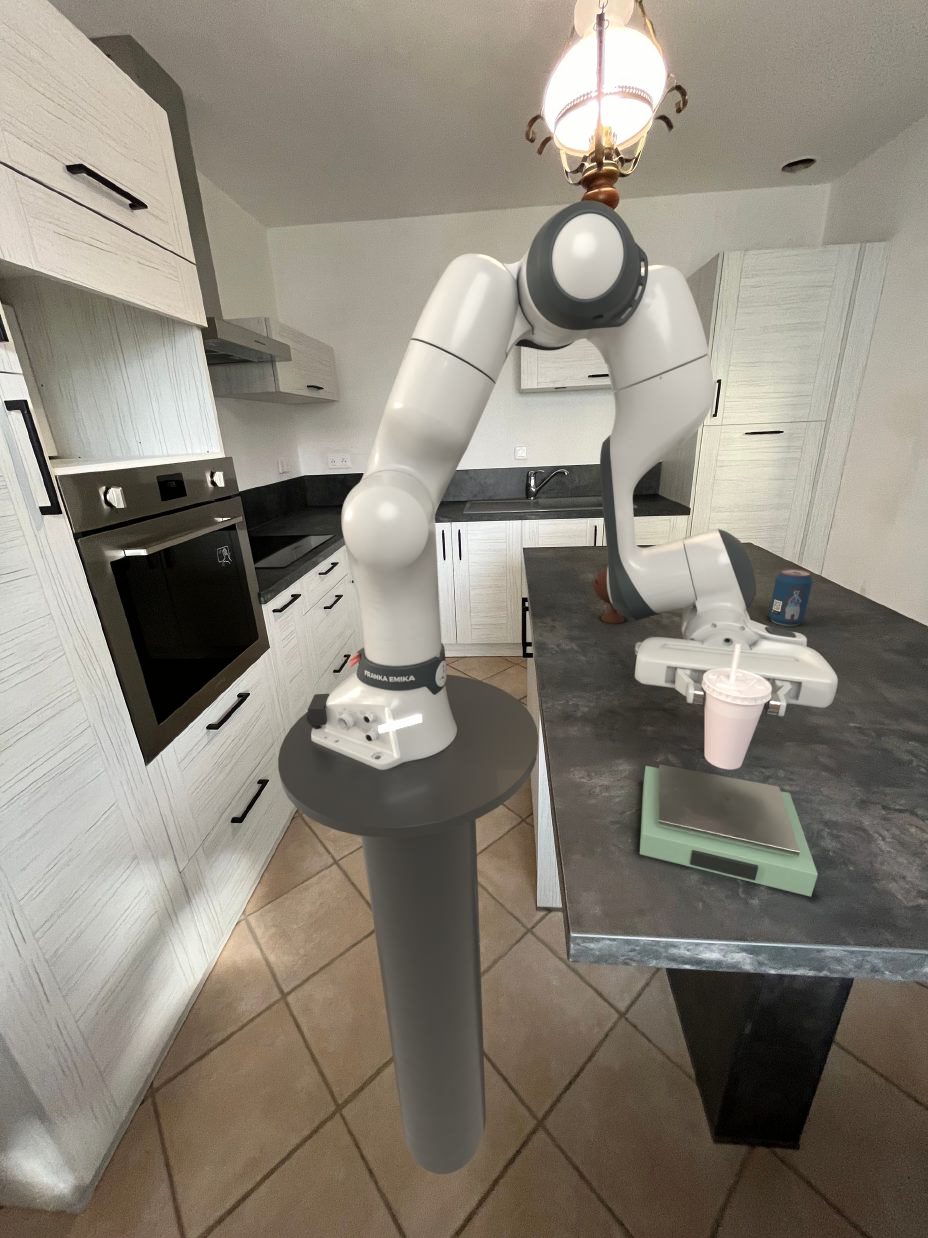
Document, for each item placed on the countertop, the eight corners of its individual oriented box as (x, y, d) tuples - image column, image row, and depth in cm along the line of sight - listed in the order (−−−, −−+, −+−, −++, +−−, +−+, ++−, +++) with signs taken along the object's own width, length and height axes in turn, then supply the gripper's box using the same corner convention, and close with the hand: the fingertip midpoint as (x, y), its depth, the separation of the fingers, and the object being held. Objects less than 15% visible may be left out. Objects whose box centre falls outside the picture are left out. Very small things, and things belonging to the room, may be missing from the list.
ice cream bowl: (610, 608, 126) (615, 551, 121) (646, 621, 117) (652, 560, 112) (580, 617, 121) (583, 558, 116) (615, 631, 112) (620, 567, 107)
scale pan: (657, 826, 52) (658, 820, 52) (658, 769, 61) (659, 764, 61) (798, 858, 48) (800, 852, 48) (777, 792, 57) (779, 786, 56)
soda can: (783, 614, 118) (794, 566, 113) (810, 624, 111) (822, 574, 107) (760, 618, 116) (770, 569, 112) (785, 628, 110) (797, 577, 105)
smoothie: (679, 746, 56) (694, 634, 51) (727, 737, 57) (747, 627, 52) (717, 782, 50) (739, 660, 45) (770, 772, 51) (797, 651, 46)
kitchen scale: (639, 856, 53) (642, 835, 52) (643, 784, 64) (645, 765, 63) (812, 900, 48) (819, 877, 47) (784, 812, 58) (789, 792, 57)
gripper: (637, 618, 65) (632, 663, 53) (820, 635, 58) (861, 691, 46) (633, 661, 67) (627, 713, 55) (808, 682, 60) (845, 747, 48)
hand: (735, 703), depth 50 cm, fingers closed on smoothie, 6 cm apart
